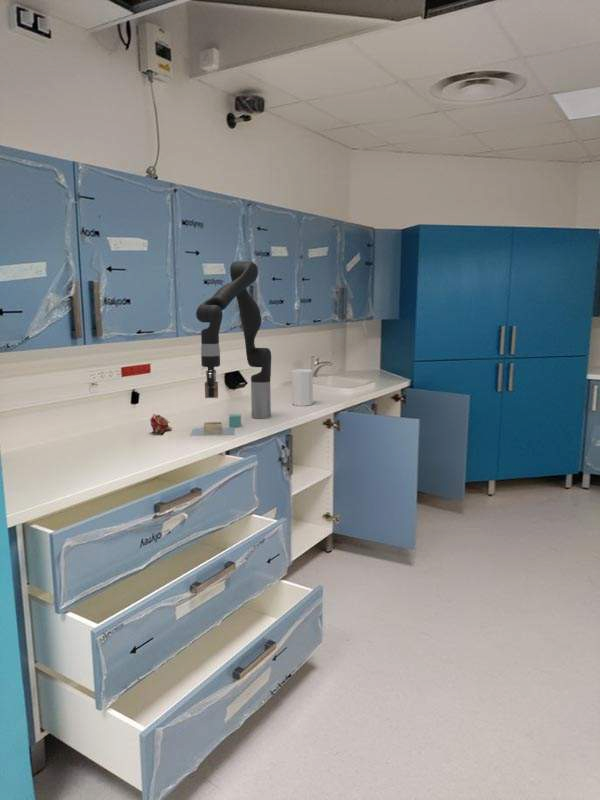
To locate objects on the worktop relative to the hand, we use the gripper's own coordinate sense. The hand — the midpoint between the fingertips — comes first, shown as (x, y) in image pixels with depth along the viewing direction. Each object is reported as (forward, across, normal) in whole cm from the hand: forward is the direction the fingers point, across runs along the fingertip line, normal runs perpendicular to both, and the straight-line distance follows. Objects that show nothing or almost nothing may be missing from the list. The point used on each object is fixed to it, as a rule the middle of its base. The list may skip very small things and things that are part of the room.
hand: (211, 395), depth 238 cm
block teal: (+17, +12, -9) cm, 23 cm away
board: (+17, +2, 0) cm, 17 cm away
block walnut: (0, 0, 0) cm, 0 cm away
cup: (+17, +69, -44) cm, 84 cm away
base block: (+15, 0, 0) cm, 15 cm away
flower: (+17, +7, +22) cm, 29 cm away
